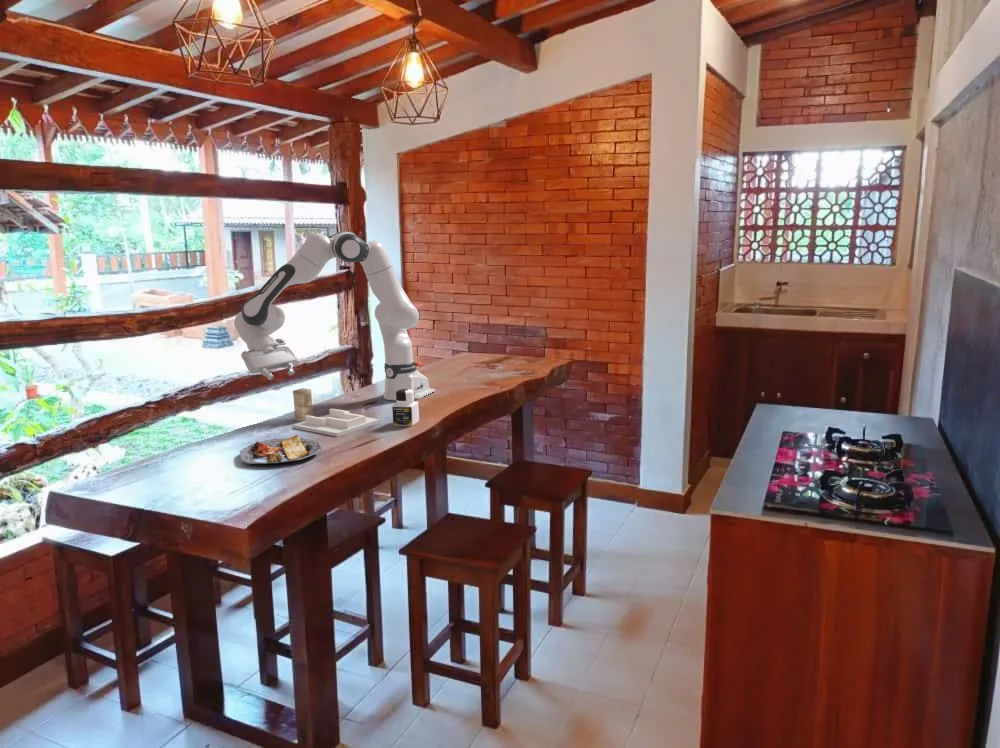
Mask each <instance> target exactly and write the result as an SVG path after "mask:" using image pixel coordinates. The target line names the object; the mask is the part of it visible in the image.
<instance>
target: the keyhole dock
mask: <svg viewBox="0 0 1000 748" xmlns="http://www.w3.org/2000/svg"><path fill="white" fill-rule="evenodd" d="M380 421H381V420H380V419H379V418H374V417H373V418H372V417H367V416H366V415H361V414H356V413H351V411H349V410H344V409H337V408H329V413H328V414H326V415H322V416H314V415H313V416H309V415H307V416H305V421H304V422H303V421H300V422H298V423H297V422H296V423H294V424H293V425H292V426H293V429H297V430H301V431H307V432H311V433H318V434H322V435H326V436H327V435H328V436H330V437H331V436H332V437H337V438H338V437H341V436H343V435H346V434H350V433H352V432H356V431H359V430H361V429H366V428H368V427H370V426H374V425H376V424H377V425H378V424H380V423H381V422H380Z"/></svg>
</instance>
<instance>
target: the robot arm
mask: <svg viewBox="0 0 1000 748" xmlns="http://www.w3.org/2000/svg"><path fill="white" fill-rule="evenodd" d="M335 258H336V259H338V260H340V261H342V262H345V263H360V265H361V266H362V268H363V272H364V274H365V276H366V279H367V282H368V284H369V286H370V289H371V292H372V294H373V295H374V296H375V297H376V298H377V300H378V302H379V303H378V304H377V305H376V307H375V309H374V316H375V317H374V318H375V320H376V321H377V323H378V325H379V326H378V327H379V329H380V333H381V337H382V342H383V347H384V361H385V363H384V373H385V376H384V391H383V396H382V397H383V399H384V400H387V401H396V392H397V391H398V390H401V389H410V390H412V391H413V394H414V400H420V399H422V398H424V396H425V397H427V396H429V395H431V394H433V393H432V392H434V391H435V392H436V389H435V388H433V387H432V388H431V387H430V383H429V379H428V378H427V376H425V375H424V374H422V373H421V372H419V370H418V369H417V367H420V366H421V362H420V361H414V354H413V343H412V340H411V338H410V335H409V334H408V330H410V329H412V328H414V327H415V326H417V325H418V323H419V319H420V313H419V311H418V309H417V307H415V306H414V304H413V303H412V302H411V300H410V298H409V297H408V294H407V293H406V291H405V290H404V289H403V287H402V285H401V283H400V281H399V278H398V276H397V274H396V271H395V268H394V266H393V263H392V261H391V259H390V257H389V254H388V252H387V250H386V249H385V247H384V245H383V244H382V243H381V242H380V241H377V240H369V241H367V242H365V241H364V240H363V239H362V238H361V237H359V236H357V234H355V233H354V232H350V231H340V232H336V233H335V234H332V235H330V236H327V235H325V234H323V233H319V232H317V233H313V234H312V235H310V236H309V237H308V238H307V239H306V240H305V241H304V242H303V243H302V245H301V246H300V247H299V249H298V250H297V251H296V253H294V255H293V256H292V257H291V258H290V260H289V261H288V262H286V263H285V264H283V265H281V266H280V267H279V268H278V269H277V270H276V271H275V272H274V273H273V275H271V276H270V277H269V279H267V281H266V282H265V283H264V284H263V285H262V287H260V289H259V290H258V291H257V292H256V293H254V294H253V295H252V296H251V297H249V298H248V299H246V301H244V303H243V305H242V307H241V311H240V312H238V314H237V315H236V316H235V318H234V321H233V325H234V327H235V330H236V332H237V334H238V336H239V337H240V339H241V340H242V341H243V342H244V343H245V344H246V347H247V348H248V350H243V351H242V353H240V357H241V358H242V360H243V362H244V364H245V366H246V367H245V368H247V370H248V372H249V373H251V374H257V373H260V375H261V376H264V377H265V378H266V379H268V381H271V380H273V379H274V377H275V376H274V375H273V373H272V372H269V371H272V370H277V369H282V368H286V369H288V371H287V374H288V376H293V375H294V374H295V372H296V371H295V370H294V367H293V366H294V365H296V363H297V361H298V356H297V354H296V353H295V351H294V350H293V349H292V348H291V347H290V346H289V344H287V342H286V340H285V339H283V338H276V337H273V336H272V337H271V336H270V335H272V334H273V333H275V332H276V331H278V330H279V329H281V327H283V325H284V323H285V320H286V319H285V318H286V317H285V313H284V311H283V310H282V308H280V307H278V306H277V305H275V304H272V303H273V302H274V301H275V300H276V299H277V298H278V296H279V295H280V294H281V293H283V291H284V290H285V289H286V288H287V287H289V286H291V285H296V284H308V283H311V282H312V281H314V280H315V279H316V278H317V277H318V276H319V274H321V271H322V270H323V269H324V268H325V266H326V265H327V263H328V262H329V261H330V260H332V259H335ZM435 392H434V393H435ZM430 393H431V394H430ZM428 394H429V395H428ZM426 395H427V396H426Z"/></svg>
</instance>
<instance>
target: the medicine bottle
mask: <svg viewBox="0 0 1000 748" xmlns="http://www.w3.org/2000/svg"><path fill="white" fill-rule="evenodd" d="M395 401H396V403H395V404H393V405H392V424H393V427H394V426H397V427H398V426H399V427H414V426H415V425H416V424H417V423H418V422H420V411H419V410H420V409H419V401H415V399H414V394H413V391H412V390H410V389H401V390H398V391H397V392H396V400H395Z"/></svg>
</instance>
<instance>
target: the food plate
mask: <svg viewBox="0 0 1000 748" xmlns="http://www.w3.org/2000/svg"><path fill="white" fill-rule="evenodd" d="M321 450H322V448H321V445H320V444H319V442H318V441H317V440H314V439H310V438H303V437H300V436H299V435H298V434H295V435H294V436H290V437H288V438H287V437H285V438H274V439H268V440H263V441H260V442H259V441H255V443H251V444H249V445H248V446H246V447H244V448H242V449H241V450H239V453H240V454H239V455H240V461H241V462H242V463H245V464H249V465H250V464H253V465H254V464H257V465H260V464H261V465H278V464H285V462H286V463H291V462H297V461H302V460H305V459H306V458H308V457H312V456H314V455H316V454H317V453H319V452H320V451H321ZM280 454H281V455H285V456H284V457H283V458H282V456H281V455H280ZM285 458H287V459H288V460H284V461H282V460H283V459H285ZM257 460H260V461H257ZM262 461H268V462H262ZM281 461H282V462H281Z"/></svg>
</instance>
